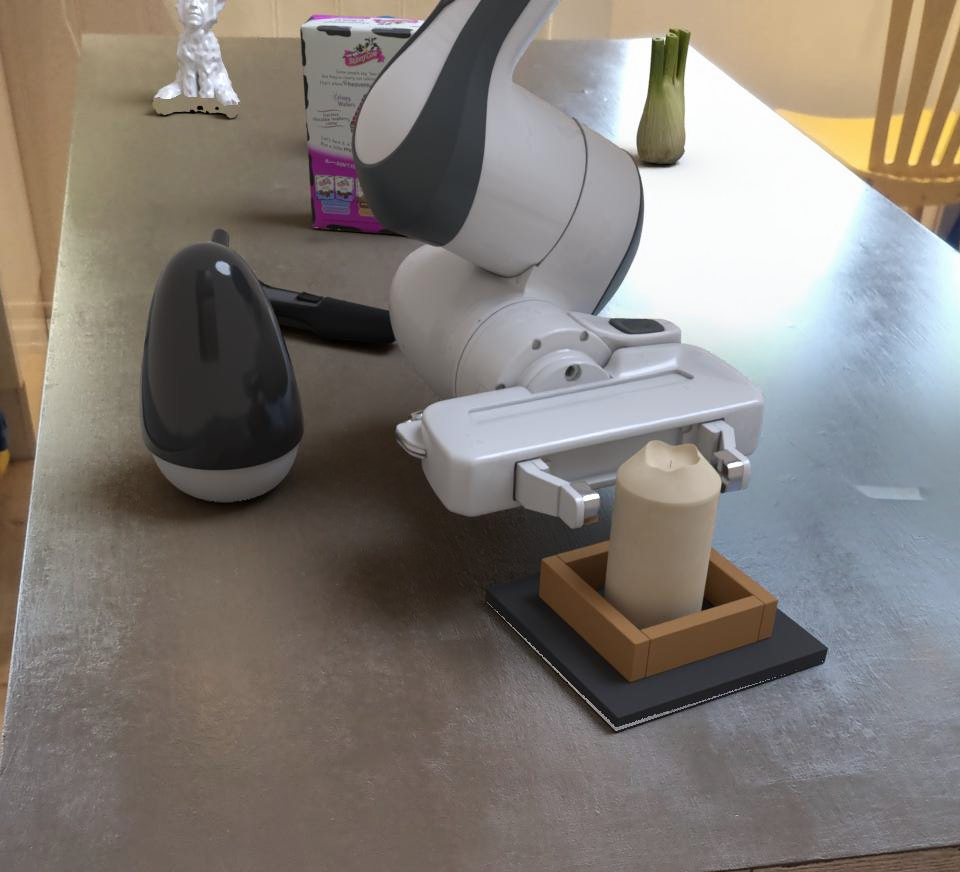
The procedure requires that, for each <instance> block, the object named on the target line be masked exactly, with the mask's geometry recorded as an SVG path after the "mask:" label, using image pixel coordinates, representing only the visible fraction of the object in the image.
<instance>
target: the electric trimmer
mask: <svg viewBox="0 0 960 872" xmlns="http://www.w3.org/2000/svg"><path fill="white" fill-rule="evenodd" d="M257 279H258V278H257ZM258 280H259V282H260V284H261V285H262V287H263V289H264V291H265V293H266V295H267V297H268V299H269V301H270V304H271V306H272V308H273V311H274V313H275V316H276V318H277V321H278V323H279V326H285V327H290V328H294V329H300V330H307V331H312V332H314V334H315V335H316V336H318V337H319V338H323V339H334V340H344V341H353V342H365V343H375V344H385V345H391V344H394V343H395V342H397V341H396V339H395V336H394V333H393V330H392V326H391V321H390V315H389V309H384V308H379V307H375V306H370V305H367V304H366V305H365V304H362V303H356V302H352V301H348V300H344V299H343V300H342V299H339V298H335V297H331V296H325V297H324V296H323V295H316V294H313V293H309V292H306V291H302V292H301V291H295V290H291V289H285V288H280V287H275V286H272V285H269V284H266V283H265V282H264V281H262V280H261V279H258Z"/></svg>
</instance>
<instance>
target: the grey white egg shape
mask: <svg viewBox="0 0 960 872" xmlns="http://www.w3.org/2000/svg"><path fill="white" fill-rule="evenodd" d="M259 280H260V279H259ZM259 280H258V277H257V276H256V273H255V272H254V271H253V269H252V268H251V267H250V266H249V263H247V261H246V260H245V259H244V258H243V257H242V256H241V255H240V254H239V253H237V251H235V250H234V249H232V248H231V247H230V235H229V233H228V232H227V230H225V229H224V228H215V229H214V230H213V231H212V232H211V235H210V239H209V240H208V241H207V240H201V241H195V242H191V243H189V244H186V245H184V246H182V247H180V248H179V249H177V250H176V251H174V253H173V254H171V255H170V256H169V258H168V260H167V261H166V263H165V264H164V266H163V268H162V269H161V272H160V274H159V277H158V279H157V281H156V283H155V287H154V289H153V293H152V295H151V300H150V302H149V303H150V304H149V308H148V312H147V316H146V323H145V324H146V325H145V330H144V337H143V343H142V344H143V345H142V351H141V353H142V354H141V363H140V373H139V374H140V375H139V422H140V423H139V424H140V430H141V431H140V433H141V437H142V442H143V444H144V446H145V447H146V448H147V450H148V451H149V452H150V453H151V456H152V458H153V460H154V462H155V464H156V466H157V467H158V469H159V470H160V472H161V474H163V476H164V477H165V478H166V479H167V480H168V481H169V482H170V483H171V484H172V485H173V486H174V487H176V488H177V489H179V490H180V491H181V492H183V493H185V494H187V495H189V496H190V497H194V498H196V499H199V500H202V499H203V501H206V502H212V501H214V502H213V503H237V502H236V501H239V502H243V501H242V500H244V501H247V499H248V500H252V499H254V498H258V497H260V496H262V495H264V494H267V493H268V492H270V491H272V490H273V489H274V488H275V487H277V486H278V485H279V484H280V483H281V482H282V481H283V480H284V479H285V477H287V475H288V473H289V472H290V471H291V468H292V467H293V465H294V462H295V461H296V457H297V454H298V449H299V444H300V442H301V441H302V439H303V438H304V434H305V421H304V420H305V419H304V411H303V405H302V400H301V399H302V398H301V395H300V389H299V385H298V382H297V377H296V374H295V370H294V365H293V363H292V359H291V356H290V353H289V350H288V345H287V343H286V341H285V338H284V335H283V332H282V330H281V329H282V328H281V327H280V326H281V325H279V323H278V321H277V318H276V316H275V313H274V311H273V308H272V306H271V304H270V301H269V299H268V297H267V295H266V293H265V291H264V289H263V287H262V285H261V284H260V282H259ZM257 496H258V497H257ZM251 498H252V499H251ZM234 501H235V502H234Z"/></svg>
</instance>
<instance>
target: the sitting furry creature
mask: <svg viewBox="0 0 960 872" xmlns="http://www.w3.org/2000/svg"><path fill="white" fill-rule="evenodd" d="M226 1H227V0H177V1H176V3H175V4H174V9H175V11H176V10H177V16H178V17H177V20H178V22H180V24H182V26H183V27H184V28H183V29H182V31H181V33H180V34H178V42H177V45H176V46H177V47H176V60H177V62H178V65H177V66H178V70H177V72H176V73H175V80H174V81H173V82H171V83H169V84H166V85H165V86H163V87H162V88H159V89H158V91H157V93H155V95H154V96H153V97H154V98H157V97H160V99H171V98H174V97H176V96H178V95H180V94H182V93H184V95H185V96H187V97H197V96H198V91H199V96H200V97H201V98H214V97H215V95H216V98H217V101H219V102H220V103H221V104H223V105H224V106H226V105H238V102H240V103H241V100H240V99H239V98H238V93H236V92H235V91H234V88H233V86H232V81H231V79H230V78H229V73H228V71H227V67H225V64H224V62H223V60H222V59H223V57H222V53H221V48H220V47H221V46H220V43H218V38H217V37H216V36H215V33H214V32H213V31H212V30H211V29H212V28H213V26H214V25H215V24H217V23H218V20H219V13H221V12H222V11H223V10H224V8H225V5H226ZM214 94H215V95H214Z"/></svg>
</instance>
